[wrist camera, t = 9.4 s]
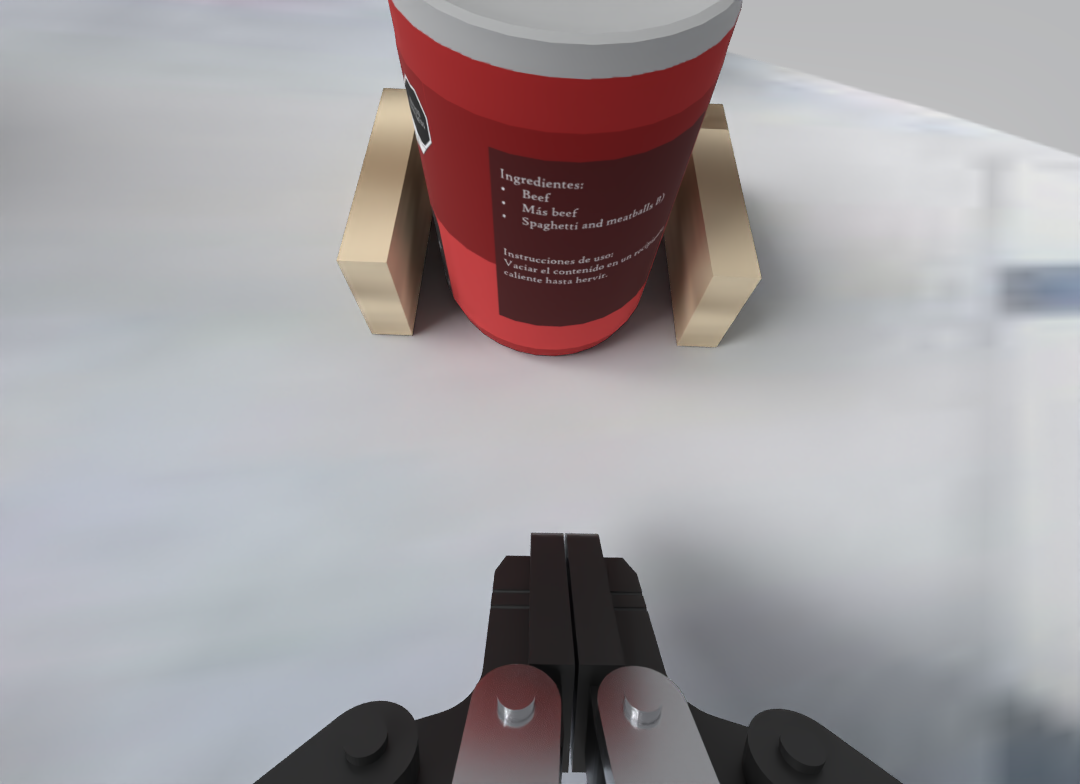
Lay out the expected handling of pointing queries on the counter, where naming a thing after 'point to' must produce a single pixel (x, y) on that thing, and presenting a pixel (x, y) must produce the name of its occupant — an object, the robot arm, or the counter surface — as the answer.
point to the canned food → (556, 150)
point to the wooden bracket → (690, 235)
